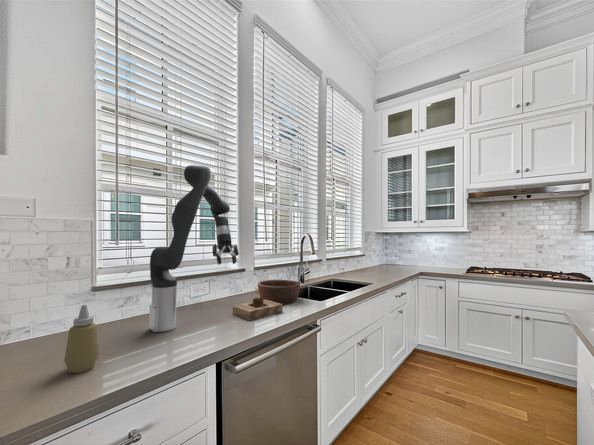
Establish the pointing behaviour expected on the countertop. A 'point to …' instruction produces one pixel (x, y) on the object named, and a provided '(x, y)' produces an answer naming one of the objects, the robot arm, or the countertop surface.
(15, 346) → the countertop surface
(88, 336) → the squeeze bottle
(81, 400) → the countertop surface
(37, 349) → the countertop surface
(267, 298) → the wooden bowl
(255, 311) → the wooden block with hole
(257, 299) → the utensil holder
